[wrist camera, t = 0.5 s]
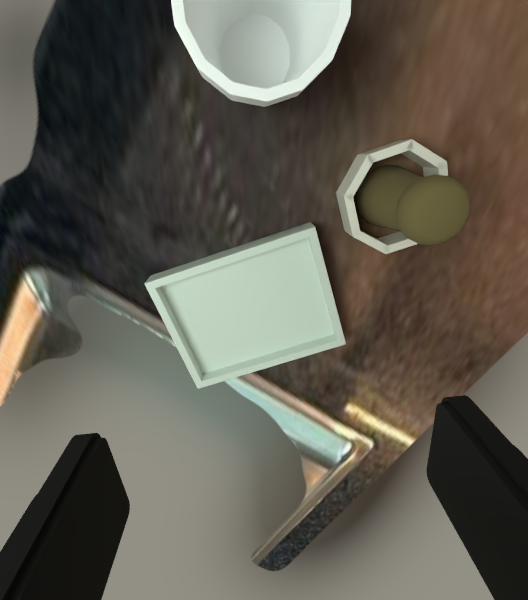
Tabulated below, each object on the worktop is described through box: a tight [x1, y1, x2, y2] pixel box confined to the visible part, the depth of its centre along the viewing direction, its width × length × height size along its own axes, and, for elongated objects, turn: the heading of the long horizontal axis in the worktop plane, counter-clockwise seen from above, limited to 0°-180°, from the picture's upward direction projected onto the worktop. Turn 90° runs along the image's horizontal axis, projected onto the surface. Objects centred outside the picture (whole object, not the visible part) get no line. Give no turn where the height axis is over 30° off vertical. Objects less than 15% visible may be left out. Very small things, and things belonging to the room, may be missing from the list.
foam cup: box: [171, 0, 351, 107], centre depth 23 cm, size 10×9×13 cm
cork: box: [356, 165, 470, 245], centre depth 29 cm, size 6×6×11 cm
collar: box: [336, 139, 448, 254], centre depth 33 cm, size 10×10×3 cm
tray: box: [145, 222, 346, 389], centre depth 37 cm, size 18×14×2 cm
